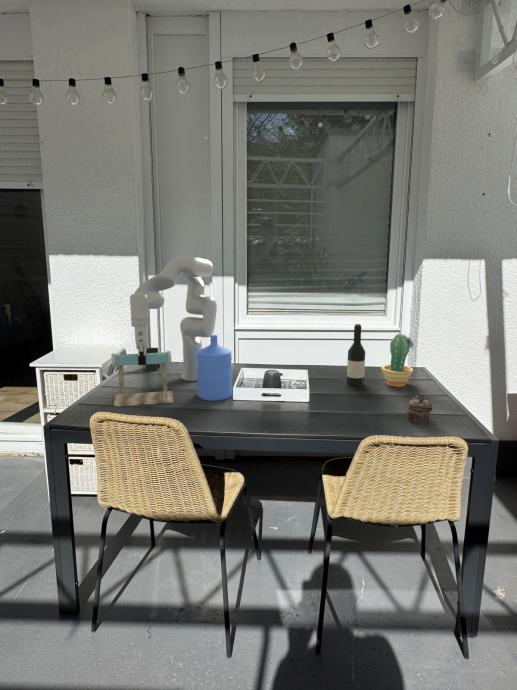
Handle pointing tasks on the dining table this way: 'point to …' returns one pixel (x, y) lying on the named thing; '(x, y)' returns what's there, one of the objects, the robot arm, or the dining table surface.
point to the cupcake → (419, 409)
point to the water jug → (214, 372)
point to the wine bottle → (356, 360)
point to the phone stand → (152, 366)
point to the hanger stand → (142, 398)
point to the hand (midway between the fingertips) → (142, 363)
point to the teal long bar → (133, 358)
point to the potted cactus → (398, 361)
